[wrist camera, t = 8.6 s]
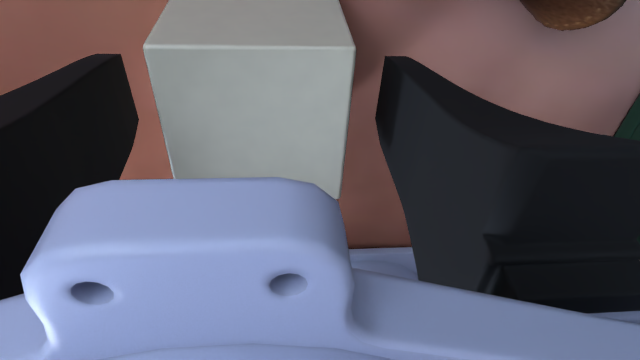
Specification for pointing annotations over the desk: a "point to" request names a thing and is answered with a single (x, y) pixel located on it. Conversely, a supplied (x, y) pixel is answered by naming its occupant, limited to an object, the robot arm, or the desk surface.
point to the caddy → (631, 126)
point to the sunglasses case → (571, 12)
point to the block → (254, 88)
